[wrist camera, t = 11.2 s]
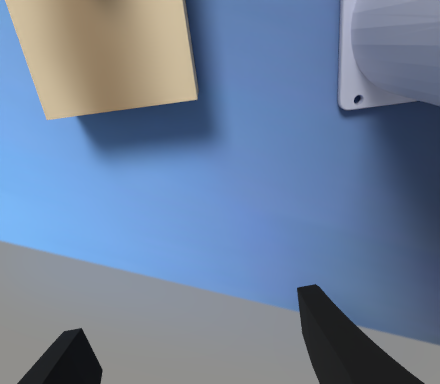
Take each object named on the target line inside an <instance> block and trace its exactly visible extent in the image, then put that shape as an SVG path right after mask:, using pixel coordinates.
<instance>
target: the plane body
mask: <svg viewBox="0 0 440 384" xmlns="http://www.w3.org/2000/svg"><path fill="white" fill-rule="evenodd" d="M5 1H6V4H7V7H8V10H9V13H10V16H11V19H12V21H13V24H14V27H15V30H16V33H17V36H18V39H19V41H20V44H21V47H22V50H23V53H24V56H25V59H26V61H27V64H28V67H29V70H30V73H31V76H32V79H33V82H34V84H35V87H36V90H37V93H38V96H39V99H40V102H41V104H42V107H43V110H44V113H45V116H46V119H47V120H50V119H58V118H65V117H73V116H80V115H87V114H95V113H102V112H110V111H117V110H124V109H132V108H139V107H147V106H154V105H161V104H169V103H176V102H184V101H191V100H197V99H198V92H199V90H198V83H197V76H196V69H195V63H194V56H193V49H192V42H191V35H190V29H189V22H188V15H187V8H186V1H185V0H5Z"/></svg>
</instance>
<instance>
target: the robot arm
mask: <svg viewBox="0 0 440 384" xmlns="http://www.w3.org/2000/svg"><path fill="white" fill-rule="evenodd" d="M357 95H360V101H359V102H358V103H356V104H355V103H354V98H355V97H356V96H357ZM414 101H422V102H426V103H430V104H433V105H437V106H440V0H341V2H340V39H339V76H338V105H339V106H340V108H342V109H344V110H354V109H362V108H369V107H377V106H384V105H392V104H399V103H407V102H414ZM297 292H298V301H299V309H300V317H301V326H302V334H303V337H304V340H305V344H306V347H307V350H308V353H309V356H310V360H311V363H312V366H313V368H314V371H315V373H316V376H317V378H318V380H319V383H320V384H424V383H423V382H422V381H420V380H419V379H418V378H416V377H415V376H414V375H413V374H411V373H410V372H409V371H407V370H406V369H405V368H404V367H402V366H401V365H400V364H399V363H398V362H396V361H395V360H394V359H393V358H392V357H390V356H389V355H388V354H387V353H385V352H384V351H383V350H382V349H381V348H380V347H379V346H377V345H376V344H375V343H374V342H373V341H372V340H371V339H370V338H368V336H366V335H365V334H364V333H363V332H362V331H361V330H360V329H359V328H358V327H357V326H356V325H355V324H354V323H353V322H352V321H351V320H350V319H349V318H348V317H347V316H346V315H345V314H344V313H343V312H342V311H341V310H340V309H339V308H338V307H337V306H336V305H335V304H334V303H333V302H332V301H331V300H330V299H329V297H328V296H327V295H326V294H325V293H324V292H323V291H322V289H321V288H320V287H319V286H317V285H316V284H315V285H309V286H304V287H299V288H297ZM101 377H102V368H101V366H100V364H99V362H98V360H97V358H96V356H95V354H94V352H93V350H92V348H91V346H90V344H89V342H88V340H87V338H86V336H85V334H84V332H83V330H82V328H80V329H75V330H69V331H64V332H63V333H62V334H61V335H60V336H59V337H58V338H57V339H56V341H55V342H54V343H53V344H52V345H51V346H50V347H49V348H48V349H47V351H46V352H45V353H44V354H43V355H42V356H41V357H40V359H39V360H38V361H37V362H36V363H35V364H34V365H33V367H32V368H31V369H30V370H29V371H28V372H27V373H26V374H25V376H24V377H23V378H22V379H21V380H20V381H19V382H18V383H17V384H100V383H101Z"/></svg>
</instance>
